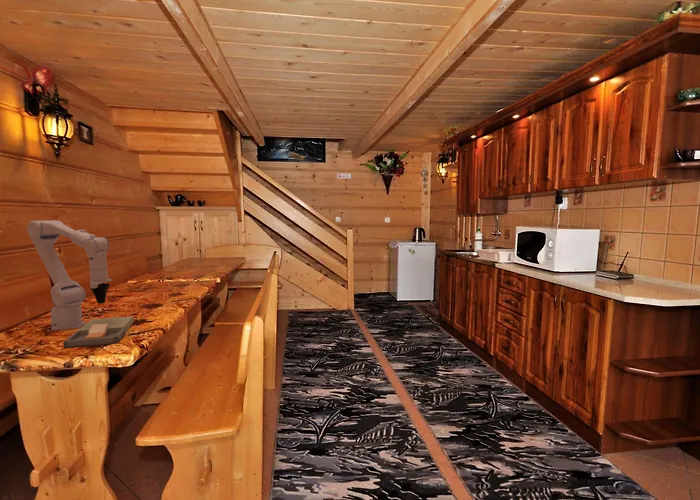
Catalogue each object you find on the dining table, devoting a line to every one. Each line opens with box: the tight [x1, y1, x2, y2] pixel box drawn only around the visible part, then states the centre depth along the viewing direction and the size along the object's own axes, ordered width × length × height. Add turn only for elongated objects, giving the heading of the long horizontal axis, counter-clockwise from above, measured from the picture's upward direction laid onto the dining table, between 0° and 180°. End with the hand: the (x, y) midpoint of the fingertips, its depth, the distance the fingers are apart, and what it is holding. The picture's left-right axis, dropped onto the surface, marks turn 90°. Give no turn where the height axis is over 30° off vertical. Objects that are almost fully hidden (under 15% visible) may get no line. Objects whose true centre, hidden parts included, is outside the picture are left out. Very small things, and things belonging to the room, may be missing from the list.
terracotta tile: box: [85, 332, 106, 339], centre depth 133 cm, size 5×5×2 cm
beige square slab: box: [76, 315, 135, 336], centre depth 147 cm, size 15×15×2 cm
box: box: [63, 328, 127, 349], centre depth 135 cm, size 16×11×2 cm
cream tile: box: [88, 323, 109, 334], centre depth 137 cm, size 5×5×2 cm
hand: (101, 303), depth 146 cm, fingers closed
